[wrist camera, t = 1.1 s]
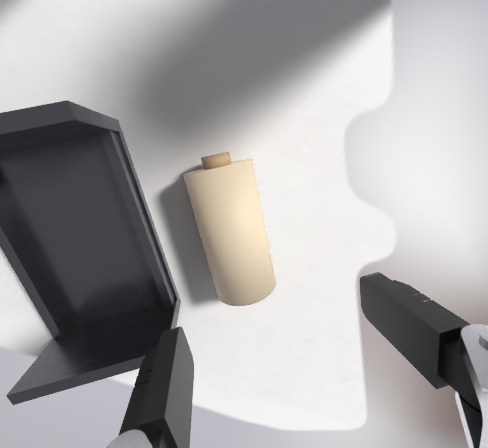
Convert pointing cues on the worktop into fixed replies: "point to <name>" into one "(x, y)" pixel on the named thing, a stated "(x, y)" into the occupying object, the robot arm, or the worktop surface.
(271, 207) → the worktop surface
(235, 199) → the cylinder
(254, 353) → the worktop surface
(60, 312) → the roll holder
